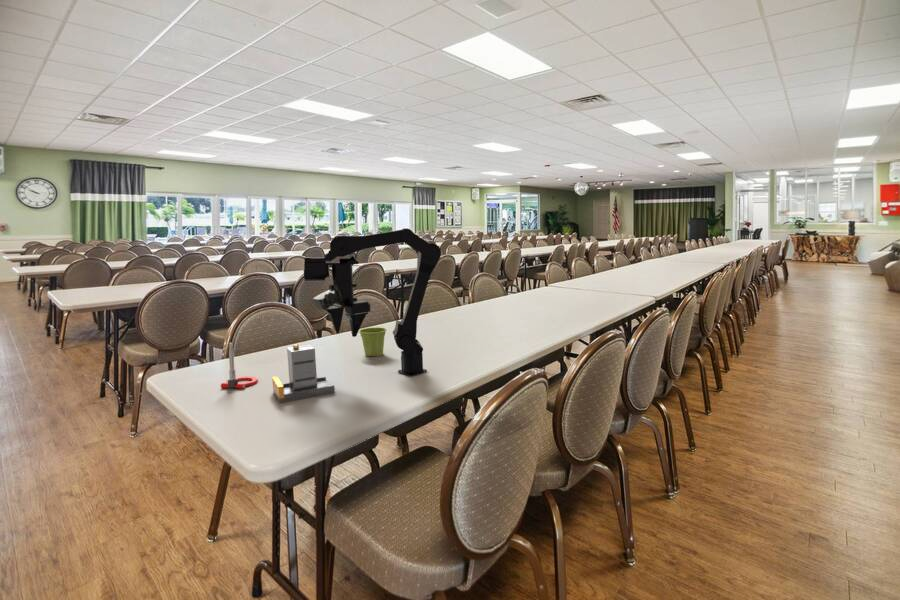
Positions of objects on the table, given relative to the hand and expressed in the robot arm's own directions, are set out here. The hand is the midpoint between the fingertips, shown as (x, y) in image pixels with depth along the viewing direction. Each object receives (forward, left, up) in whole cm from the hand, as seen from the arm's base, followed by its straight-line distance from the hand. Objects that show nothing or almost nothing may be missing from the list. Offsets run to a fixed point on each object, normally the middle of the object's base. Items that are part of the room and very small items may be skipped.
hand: (345, 334), depth 135 cm
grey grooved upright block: (-2, +15, -12) cm, 19 cm away
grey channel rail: (-2, +15, -13) cm, 20 cm away
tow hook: (+18, +24, -13) cm, 33 cm away
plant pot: (+16, -20, -13) cm, 29 cm away
